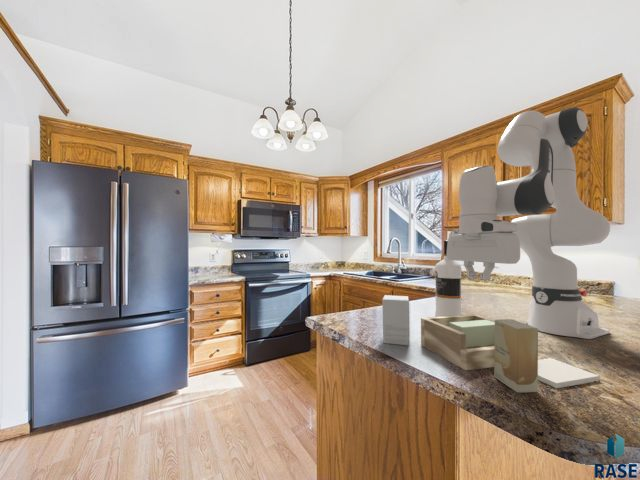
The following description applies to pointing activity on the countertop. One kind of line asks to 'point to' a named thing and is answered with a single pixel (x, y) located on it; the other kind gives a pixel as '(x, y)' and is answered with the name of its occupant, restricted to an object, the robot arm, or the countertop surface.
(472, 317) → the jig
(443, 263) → the vodka
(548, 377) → the mat
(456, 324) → the block
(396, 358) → the countertop surface
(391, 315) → the supplement box
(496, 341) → the skincare box
